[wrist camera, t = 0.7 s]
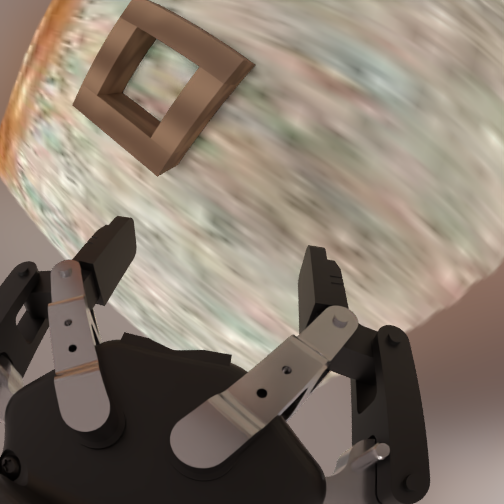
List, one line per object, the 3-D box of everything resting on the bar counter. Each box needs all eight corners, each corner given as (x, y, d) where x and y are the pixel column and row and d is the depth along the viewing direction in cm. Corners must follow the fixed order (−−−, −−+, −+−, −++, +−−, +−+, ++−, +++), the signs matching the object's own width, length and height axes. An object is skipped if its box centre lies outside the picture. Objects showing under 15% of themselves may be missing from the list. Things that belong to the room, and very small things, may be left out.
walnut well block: (157, 4, 24) (135, -5, 19) (255, 64, 26) (244, 59, 22) (97, 100, 31) (72, 105, 27) (177, 164, 34) (157, 176, 30)
